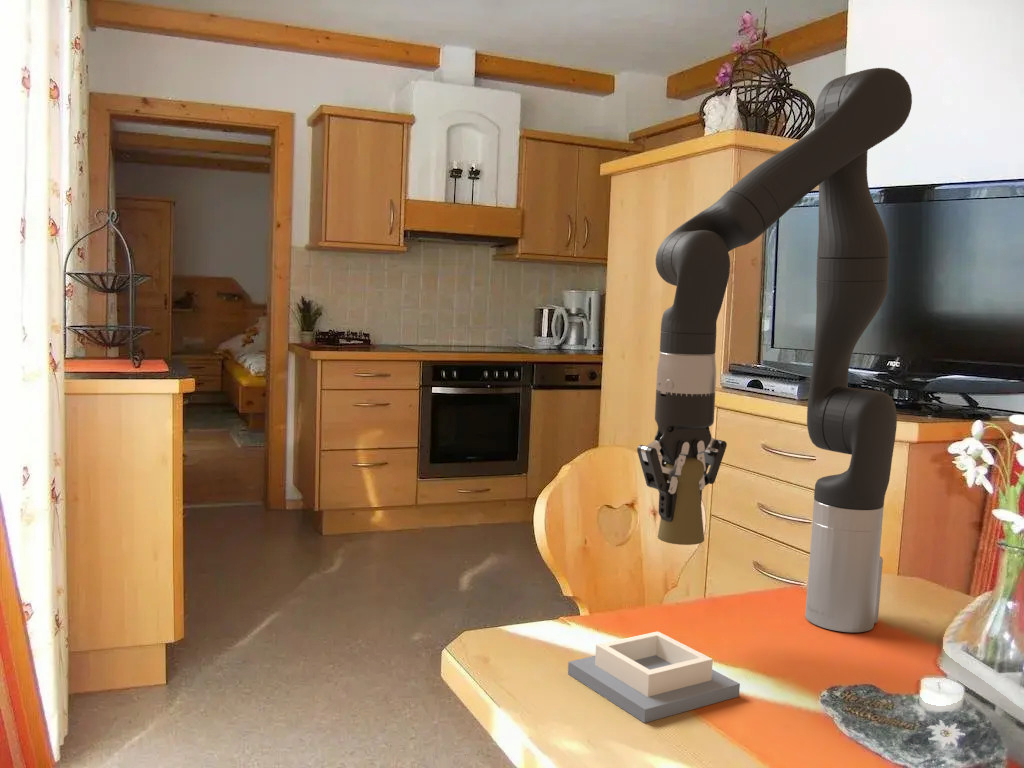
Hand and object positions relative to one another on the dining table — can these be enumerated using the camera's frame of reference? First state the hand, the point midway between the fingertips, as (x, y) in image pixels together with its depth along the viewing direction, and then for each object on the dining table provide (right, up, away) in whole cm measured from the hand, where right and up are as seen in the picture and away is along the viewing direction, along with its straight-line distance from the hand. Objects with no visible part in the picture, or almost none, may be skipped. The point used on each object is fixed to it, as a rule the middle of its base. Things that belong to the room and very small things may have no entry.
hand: (679, 517), depth 121 cm
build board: (-6, -17, -13) cm, 23 cm away
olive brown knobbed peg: (0, -3, 0) cm, 3 cm away
